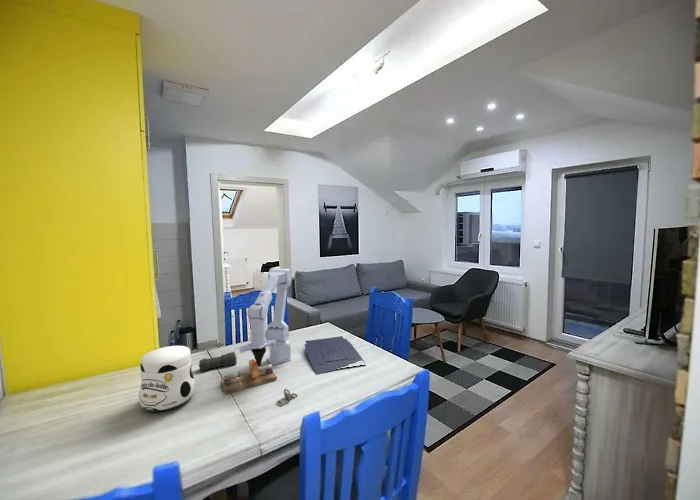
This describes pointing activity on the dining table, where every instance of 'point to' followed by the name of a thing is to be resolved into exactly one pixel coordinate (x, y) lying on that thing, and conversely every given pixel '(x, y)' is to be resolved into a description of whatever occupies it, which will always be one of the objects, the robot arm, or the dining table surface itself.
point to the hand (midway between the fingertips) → (258, 365)
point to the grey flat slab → (331, 354)
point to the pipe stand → (247, 379)
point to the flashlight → (218, 361)
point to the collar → (253, 368)
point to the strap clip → (286, 398)
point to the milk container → (166, 378)
